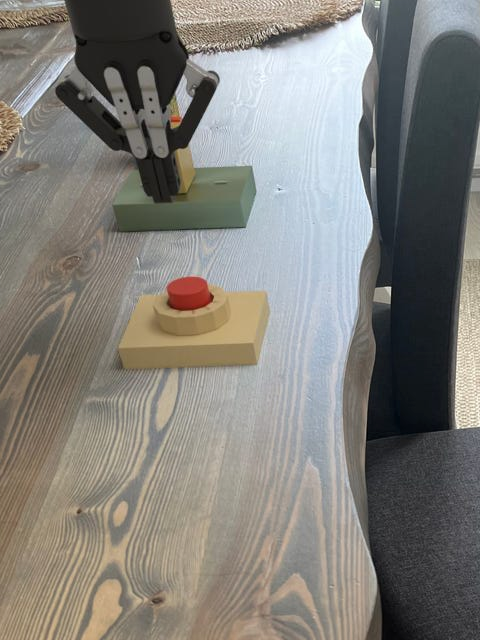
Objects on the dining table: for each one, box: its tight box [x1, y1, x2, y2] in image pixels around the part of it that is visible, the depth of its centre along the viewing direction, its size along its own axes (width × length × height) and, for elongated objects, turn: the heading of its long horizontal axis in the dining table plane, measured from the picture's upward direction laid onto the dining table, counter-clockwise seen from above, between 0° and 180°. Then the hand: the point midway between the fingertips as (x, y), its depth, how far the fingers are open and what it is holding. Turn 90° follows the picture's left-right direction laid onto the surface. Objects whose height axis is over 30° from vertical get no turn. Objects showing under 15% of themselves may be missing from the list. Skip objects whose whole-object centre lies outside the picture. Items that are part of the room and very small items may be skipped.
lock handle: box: [170, 116, 195, 193], centre depth 111 cm, size 6×2×6 cm, turn 1°
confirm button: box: [166, 276, 211, 311], centre depth 91 cm, size 4×4×2 cm
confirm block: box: [117, 283, 271, 370], centre depth 93 cm, size 12×10×4 cm
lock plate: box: [111, 165, 257, 233], centre depth 114 cm, size 14×10×3 cm
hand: (166, 199), depth 85 cm, fingers closed
